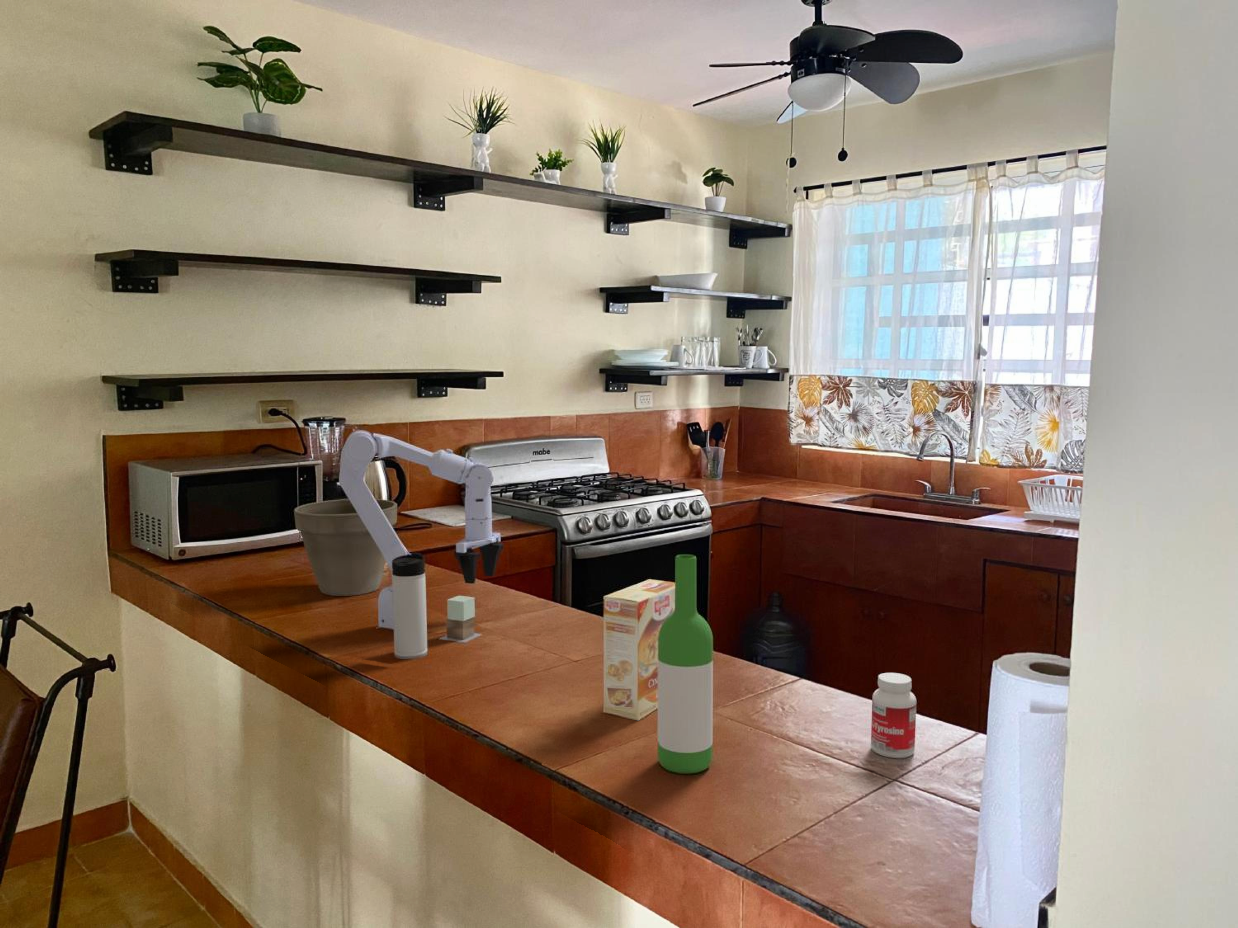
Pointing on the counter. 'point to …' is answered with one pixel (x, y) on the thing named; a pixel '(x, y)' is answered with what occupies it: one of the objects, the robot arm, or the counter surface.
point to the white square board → (461, 640)
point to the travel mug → (409, 606)
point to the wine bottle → (685, 679)
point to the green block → (461, 608)
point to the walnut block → (460, 629)
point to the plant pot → (342, 546)
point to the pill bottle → (893, 716)
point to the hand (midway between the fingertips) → (479, 579)
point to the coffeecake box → (634, 646)
